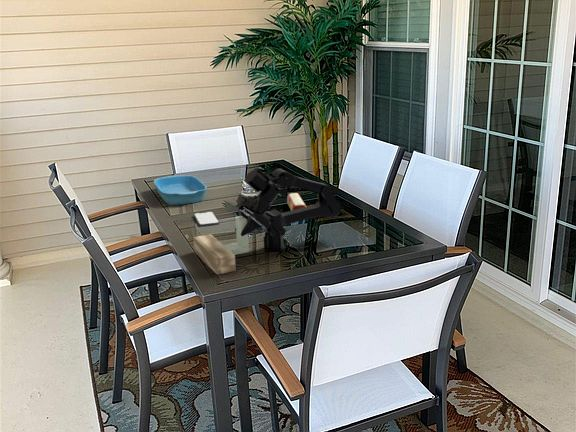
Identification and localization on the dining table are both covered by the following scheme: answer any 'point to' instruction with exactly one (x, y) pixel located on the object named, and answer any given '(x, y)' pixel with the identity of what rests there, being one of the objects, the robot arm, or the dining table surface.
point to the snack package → (295, 201)
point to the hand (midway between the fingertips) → (238, 233)
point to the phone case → (206, 219)
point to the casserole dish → (180, 189)
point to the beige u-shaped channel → (214, 254)
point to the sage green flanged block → (239, 238)
